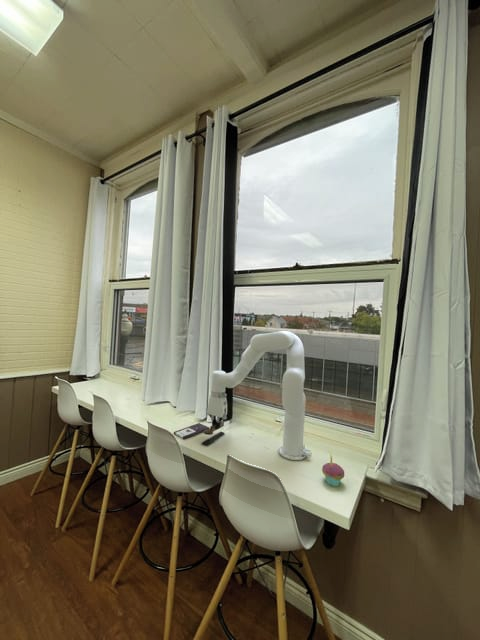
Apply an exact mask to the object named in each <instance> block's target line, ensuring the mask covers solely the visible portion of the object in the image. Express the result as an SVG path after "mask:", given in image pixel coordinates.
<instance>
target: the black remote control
mask: <svg viewBox="0 0 480 640" xmlns="http://www.w3.org/2000/svg"><path fill="white" fill-rule="evenodd" d="M224 435H225V432H224V431H219V432H217V433H216V434H213V435H212V436H210V437H209V438H207V439H206V440H204V441H202V442H201V445H203V446H206V447H207V446H209V445H211V444H212V443H214V441H216V440H218V439H219V438H221V437H223V436H224Z"/></svg>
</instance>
